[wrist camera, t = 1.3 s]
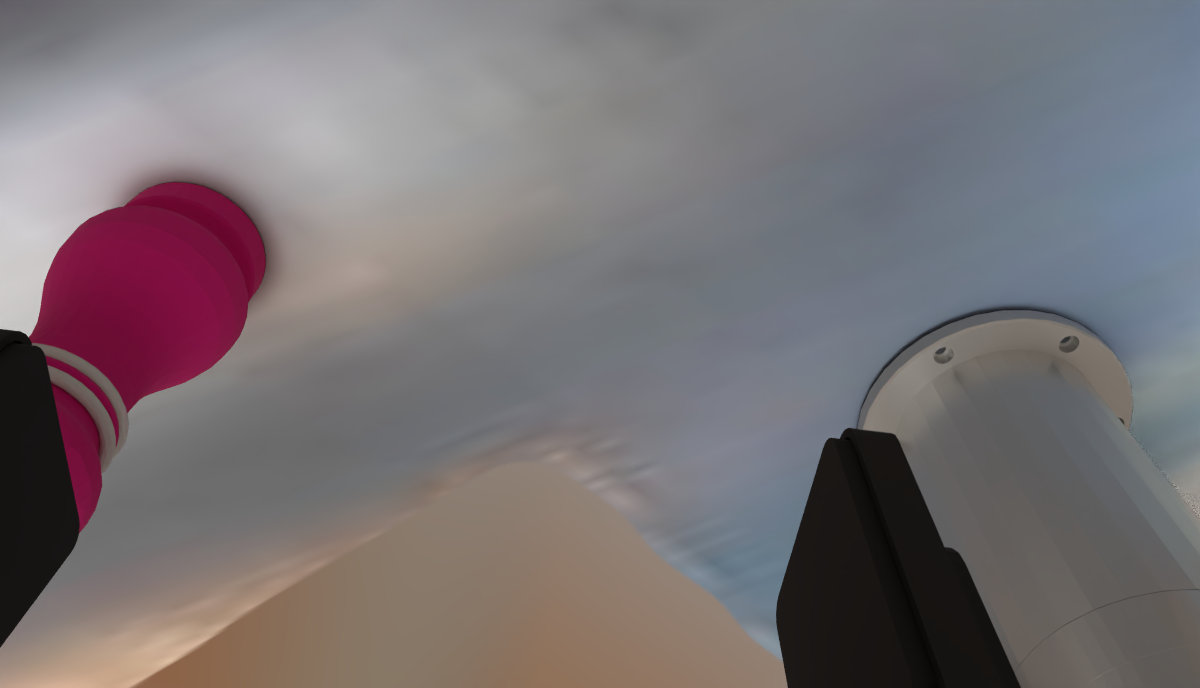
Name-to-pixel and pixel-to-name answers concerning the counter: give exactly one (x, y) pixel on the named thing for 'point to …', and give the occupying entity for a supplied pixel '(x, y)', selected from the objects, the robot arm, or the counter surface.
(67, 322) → the pepper mill
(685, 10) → the counter surface
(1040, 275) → the counter surface
